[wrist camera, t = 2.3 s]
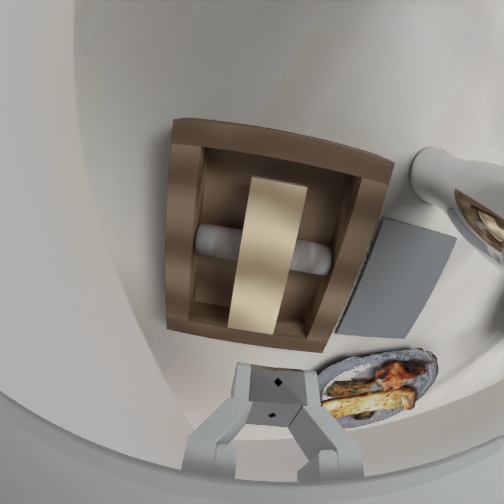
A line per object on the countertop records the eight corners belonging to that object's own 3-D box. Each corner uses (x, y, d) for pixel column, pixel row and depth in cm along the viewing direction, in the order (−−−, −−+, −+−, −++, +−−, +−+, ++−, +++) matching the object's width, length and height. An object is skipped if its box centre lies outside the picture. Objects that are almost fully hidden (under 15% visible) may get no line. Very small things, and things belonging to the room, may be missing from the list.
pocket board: (187, 117, 23) (173, 119, 19) (377, 154, 23) (394, 162, 20) (176, 307, 33) (167, 329, 30) (318, 329, 34) (322, 352, 30)
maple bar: (252, 175, 23) (251, 177, 21) (304, 184, 23) (307, 187, 21) (229, 317, 28) (227, 327, 26) (272, 323, 28) (272, 334, 26)
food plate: (452, 331, 34) (460, 346, 31) (411, 406, 45) (415, 419, 42) (299, 350, 37) (299, 370, 34) (296, 421, 48) (296, 436, 45)
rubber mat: (382, 217, 26) (384, 218, 26) (455, 237, 27) (457, 238, 26) (336, 331, 34) (336, 333, 34) (403, 336, 34) (404, 338, 34)
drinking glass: (394, 181, 24) (488, 255, 11) (428, 128, 21) (540, 163, 8) (434, 217, 26) (518, 297, 13) (466, 169, 23) (563, 225, 10)
